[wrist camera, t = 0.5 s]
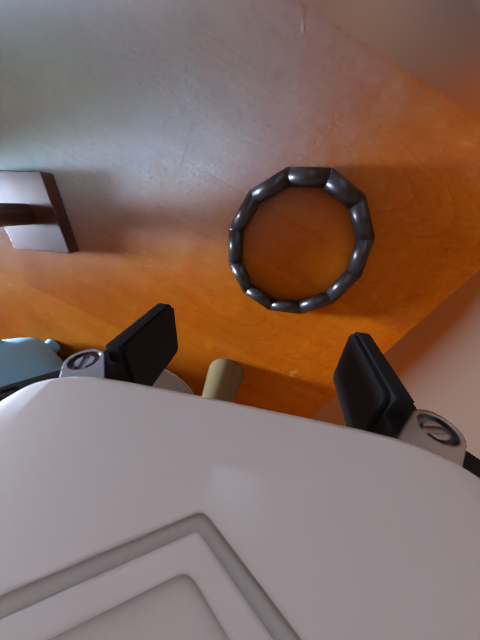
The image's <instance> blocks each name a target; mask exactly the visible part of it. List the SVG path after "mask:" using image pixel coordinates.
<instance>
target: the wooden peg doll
mask: <svg viewBox="0 0 480 640" xmlns="http://www.w3.org/2000/svg"><path fill="white" fill-rule="evenodd" d="M242 378H243V372H242V369H241V368H240V366H239V365H238V364H236V363H235V362H233V361H231V360H228V359H217V360H215V361H213V362H212V363H211V364H210V367H209V370H208V374H207V378H206V382H205V385H204V389H203V393H202V397H207V398H212V399H217V400H222V401H227V402H232V401H233V399H234V397H235V394H236V392H237V390H238V387H239V385H240V383H241V380H242Z"/></svg>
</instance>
